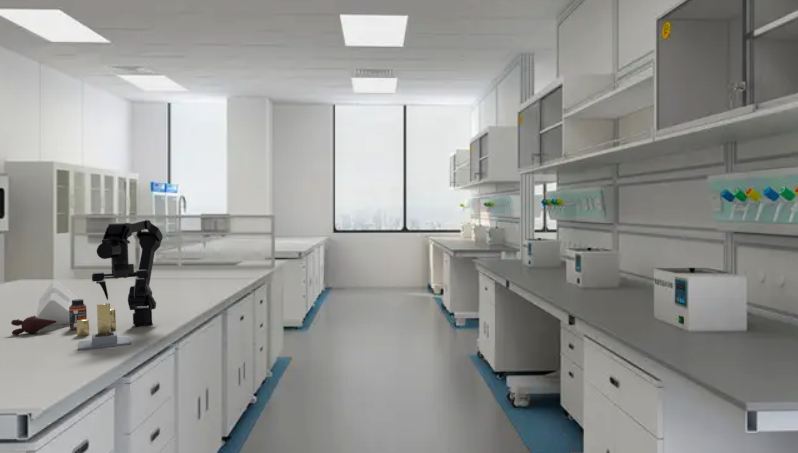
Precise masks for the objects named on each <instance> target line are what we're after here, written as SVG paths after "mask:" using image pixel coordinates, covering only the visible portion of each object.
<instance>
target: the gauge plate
mask: <svg viewBox="0 0 798 453" xmlns="http://www.w3.org/2000/svg"><path fill="white" fill-rule="evenodd" d="M129 345H132V340H131V336H130V335H128V336H127V335H126V336H119V337H118V331H111V336H103V337H98V333H92V334H91V339H90V340H81V341H78V346H77V351H85V350H93V349H102V348H111V347H119V346H120V347H121V346H129Z"/></svg>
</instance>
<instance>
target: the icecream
mask: <svg viewBox="0 0 798 453" xmlns="http://www.w3.org/2000/svg"><path fill="white" fill-rule="evenodd" d="M54 323H56V321H54V320H48V319H41V318H37V317H36V315H34V314H33V316H29V317H26V318H25V319H23V320H22V319H21V320H20V319H12V320H11V322H10V324H11V325H12V326H15V327H16V326H17V327H19V326H21V328H15V329H14V330H12V332H11V334H12V335H13V336H17V335H20V334H23V333H26V334H32V335H33V334H38V333H39V331H40V330H43V329H44V328H47V327H49V326H52V325H51V324H54ZM54 325H55V324H54Z"/></svg>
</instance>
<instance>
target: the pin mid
mask: <svg viewBox="0 0 798 453" xmlns="http://www.w3.org/2000/svg"><path fill="white" fill-rule="evenodd" d="M116 315H117V314H116V308H110V318H111V332H116V330H117V323H116V322H117V321H116V318H117V317H116Z"/></svg>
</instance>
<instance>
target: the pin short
mask: <svg viewBox="0 0 798 453" xmlns="http://www.w3.org/2000/svg"><path fill="white" fill-rule="evenodd" d="M76 336H77V337H85V336H90V319H88V318H87V319H82V320H77V330H76Z"/></svg>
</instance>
